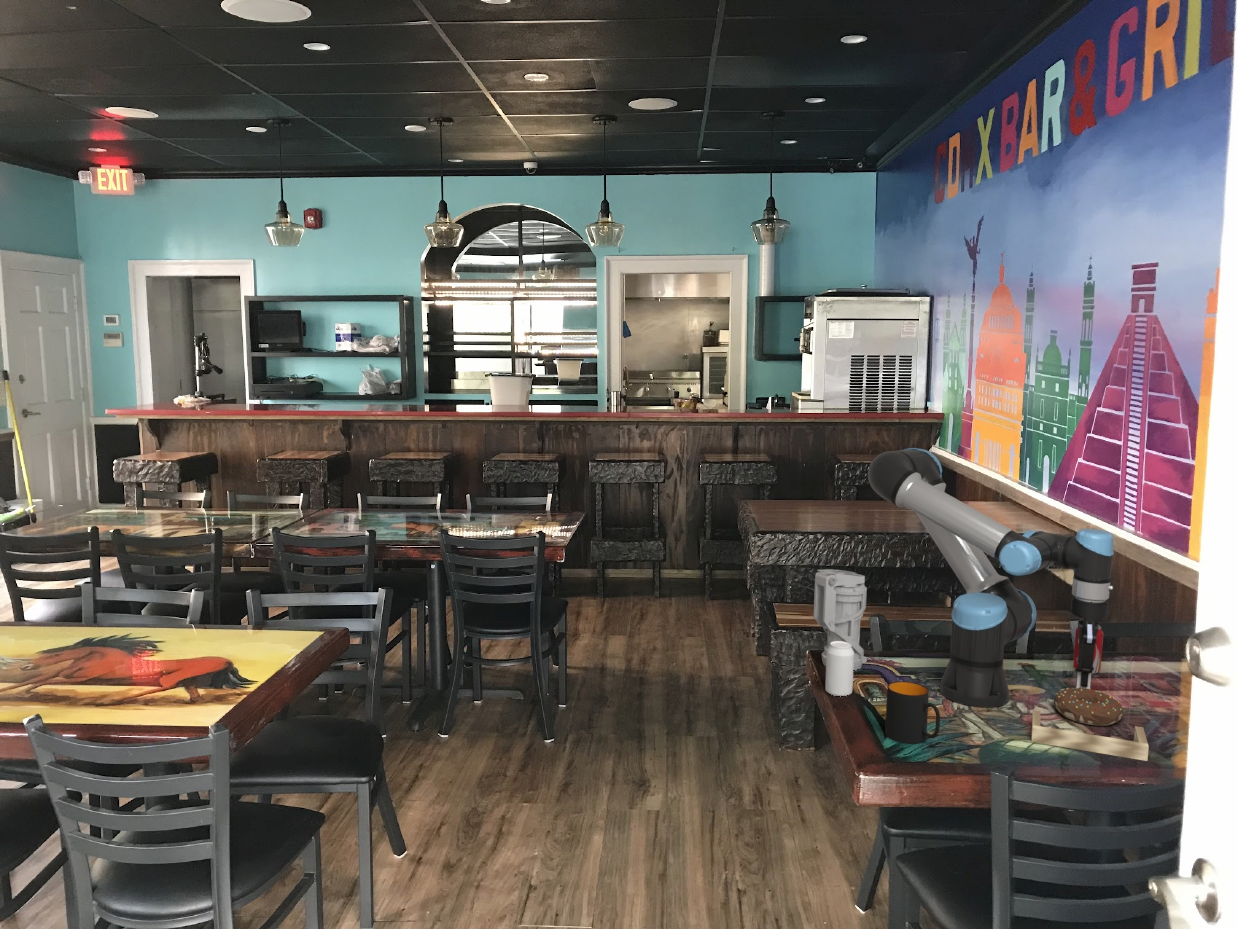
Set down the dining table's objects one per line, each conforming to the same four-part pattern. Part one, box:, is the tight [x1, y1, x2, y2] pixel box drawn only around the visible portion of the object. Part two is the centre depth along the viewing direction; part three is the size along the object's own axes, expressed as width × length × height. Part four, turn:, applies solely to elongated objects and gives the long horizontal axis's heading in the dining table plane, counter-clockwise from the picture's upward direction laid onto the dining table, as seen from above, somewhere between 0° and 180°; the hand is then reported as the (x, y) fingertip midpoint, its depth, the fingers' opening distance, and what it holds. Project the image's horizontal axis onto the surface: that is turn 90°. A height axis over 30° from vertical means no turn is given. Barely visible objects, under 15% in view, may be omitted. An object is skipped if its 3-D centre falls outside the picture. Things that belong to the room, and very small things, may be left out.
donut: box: [1053, 687, 1125, 727], centre depth 205 cm, size 14×14×5 cm
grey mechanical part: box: [813, 568, 868, 671], centre depth 235 cm, size 13×10×25 cm
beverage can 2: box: [1072, 624, 1104, 675], centre depth 234 cm, size 6×6×12 cm
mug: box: [884, 680, 941, 745], centre depth 191 cm, size 8×12×10 cm
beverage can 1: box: [825, 641, 854, 698], centre depth 216 cm, size 6×6×12 cm
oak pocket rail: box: [1031, 709, 1150, 762], centre depth 192 cm, size 21×10×3 cm, turn 66°
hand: (1082, 698), depth 212 cm, fingers closed
